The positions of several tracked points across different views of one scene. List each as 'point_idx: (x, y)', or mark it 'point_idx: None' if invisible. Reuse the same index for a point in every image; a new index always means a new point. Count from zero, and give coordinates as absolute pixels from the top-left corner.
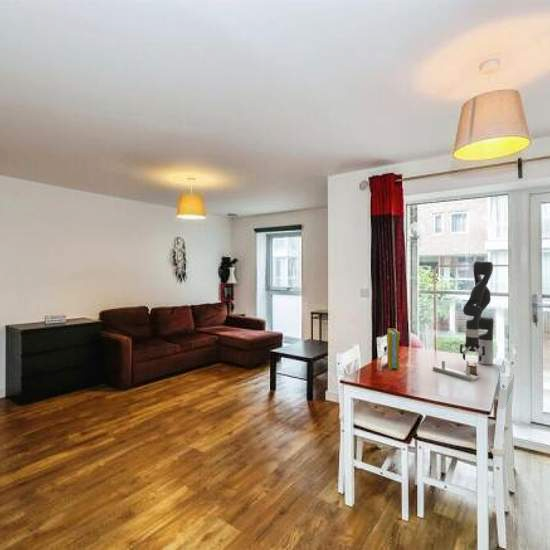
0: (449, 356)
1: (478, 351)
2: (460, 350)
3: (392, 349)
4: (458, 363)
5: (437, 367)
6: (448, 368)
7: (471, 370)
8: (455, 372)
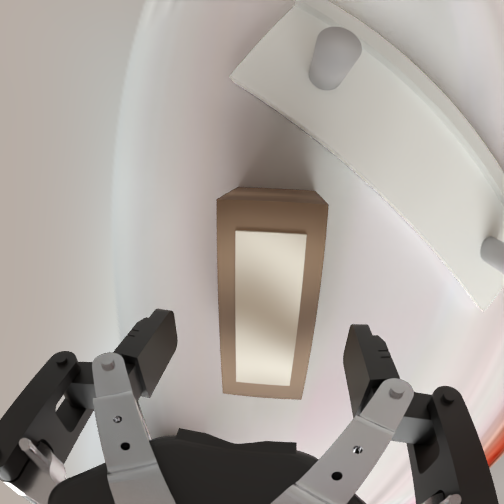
0: None
1: (103, 410)
2: (465, 420)
3: None
4: (322, 440)
5: None
6: (457, 265)
7: (282, 194)
8: (435, 91)
